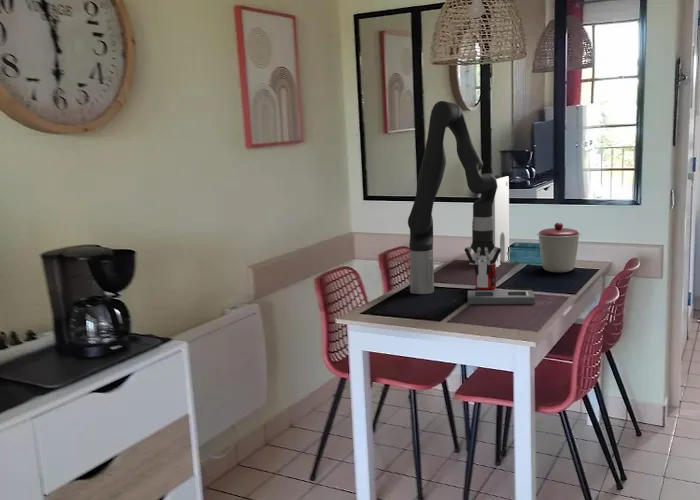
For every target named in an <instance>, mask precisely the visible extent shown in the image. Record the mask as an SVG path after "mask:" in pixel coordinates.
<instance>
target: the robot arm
mask: <svg viewBox="0 0 700 500" xmlns="http://www.w3.org/2000/svg"><path fill="white" fill-rule="evenodd" d="M447 128H449V131H451V132H452V134H453V136H454V138H455V143H456V144H455V145H456V154H457V156H458V159H459V161H460V163H461V166H462V167H463V170H464V173H465V178H466V184H467V187H468V189H469V190H470V192H472V194H475V195H480V197H479V199H476V200H474V202H473V204H472V221H471V222H472V223H471V224H472V225H471V230H472V232H471V233H472V235H471V237H472V238H471V239H472V242H471V244H470V246H468V247H464V252H465V255H466V257H467V259H468V261H469V264H470V263H473V264H474V265H473V266H474V273H475V274H476V273H477V275H478V274H479V271H478V261H479V256H482V255H483V256H486V260H487V271H486V275H488V273H490V265H491V264H493V263H495V262H496V260H497V258H498V256H499V253H500V251H501V248H498V247H496V246H494V244H493V218H492V205H493V201H494V198H495V194H496V190H497V180H496V179H497V178H496V176H495V175H494V174H493V173H480V172H479V171H480V170H482V168H483V167H484V162H483V160H482V158H481V156H480V154H479V152H478V150H477V148H476V147H475V145H474V141H473V140H472V137H471V134H470V131H469V129H468V126H467V122H466V119H465V116H464V113H463V110H462V108H461V107H460V105H458V104H456V103H454V102H449V101H445V100H438V101H437V102H436V103H435V104H434V105H433V107H432V109H431V112H430V116H429V124H428V131H427V139H426V141H425V142H426V143H425V146H424V147H425V148H424V151H423V157H422V159H421V164H420V169H419V172H418V178H417V179H418V180H417V185H416V193H415V199H414V201H413V205H412V208H411V211H410V212H409V216H408V217H407V218H408V219H407V226H408V228H409V289H410V294H415V295H416V294H417V295H427V294H428V295H429V294H432V293H434V292H435V284H434V283H435V281H434V280H435V279H434V271H435V270H434V218H433V207H434V203H435V200H436V196H437V195H438V192H439V190H440V187H441V183H442V181H443V178H444V173H445V171H446V164H447V156H446V152H445V146H444V145H445V144H444V139H445V133H446V129H447ZM493 249H494V252H495V255H494V257H493V259H492V260H490V257H489V254H490V253H491V251H492V250H493ZM472 250H473V253H474V252H475V254H476V258H475V260H473V258H472V256H473V255H472V254H471V253H472Z"/></svg>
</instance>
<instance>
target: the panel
mask: <svg viewBox="0 0 700 500" xmlns="http://www.w3.org/2000/svg"><path fill="white" fill-rule="evenodd" d="M533 291H534V290H532V289H520V290H519V289H516V290H515V289H512V290H511V289H509V290H508V289H507V290H505V289H500V290H499V289H496V290H495V289H494V290H478V289H476V290H475V289H473V290H467V305H535V304H536V296H535V293H534V292H533Z"/></svg>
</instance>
